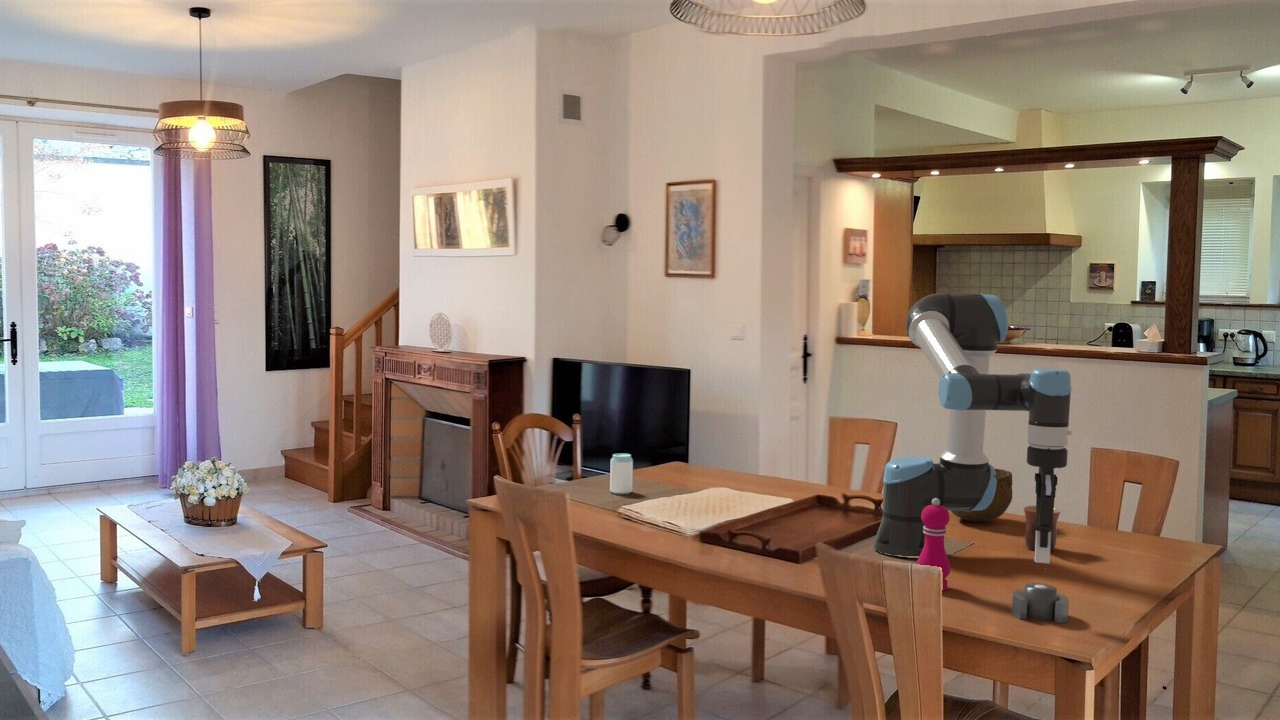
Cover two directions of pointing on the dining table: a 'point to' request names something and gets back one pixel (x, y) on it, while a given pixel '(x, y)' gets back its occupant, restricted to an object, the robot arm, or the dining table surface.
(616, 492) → the can
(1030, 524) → the mug
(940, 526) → the pepper mill
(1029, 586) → the cap
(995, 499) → the bowl
